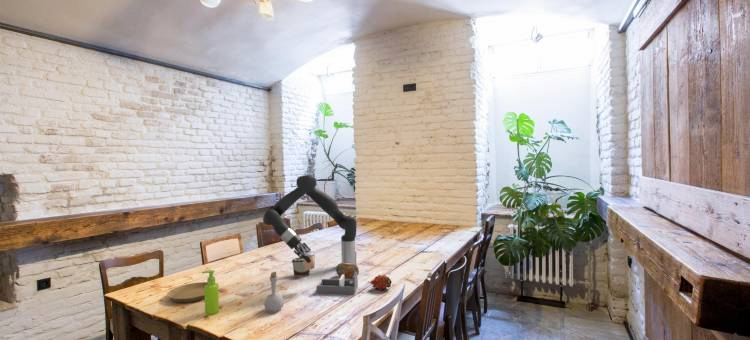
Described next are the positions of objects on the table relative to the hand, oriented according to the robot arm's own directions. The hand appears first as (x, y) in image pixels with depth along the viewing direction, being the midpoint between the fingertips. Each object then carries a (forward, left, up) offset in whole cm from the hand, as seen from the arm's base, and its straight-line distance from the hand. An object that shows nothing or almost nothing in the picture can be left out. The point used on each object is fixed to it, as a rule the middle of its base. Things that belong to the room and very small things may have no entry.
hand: (312, 260), depth 193 cm
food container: (-5, -27, -17) cm, 32 cm away
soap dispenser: (+51, +2, -17) cm, 54 cm away
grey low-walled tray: (-12, +9, -16) cm, 22 cm away
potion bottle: (+25, +15, -17) cm, 34 cm away
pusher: (-13, +10, -15) cm, 22 cm away
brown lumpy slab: (-26, -7, -17) cm, 31 cm away
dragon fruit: (-32, +21, -17) cm, 41 cm away
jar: (+1, -1, -4) cm, 5 cm away
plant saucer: (+56, -27, -17) cm, 65 cm away
